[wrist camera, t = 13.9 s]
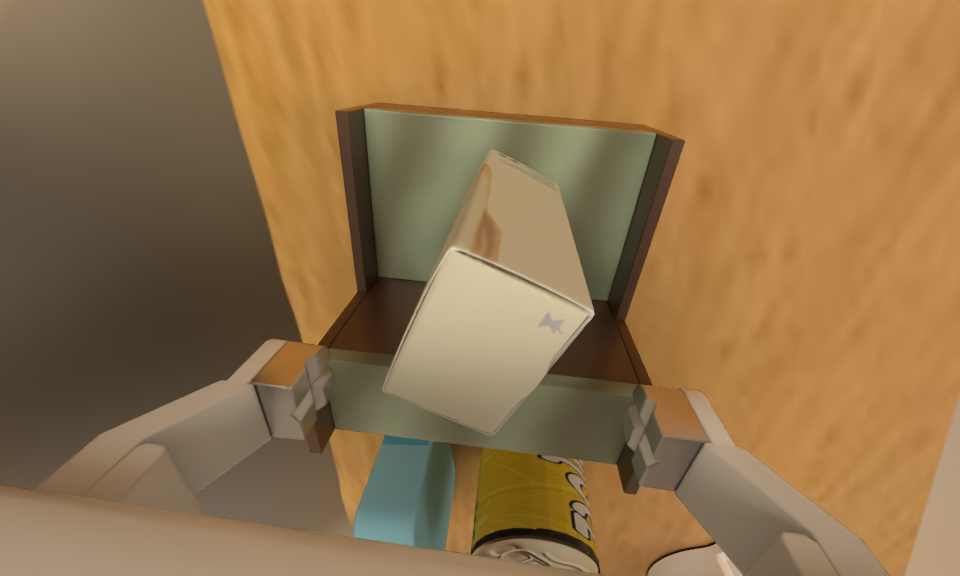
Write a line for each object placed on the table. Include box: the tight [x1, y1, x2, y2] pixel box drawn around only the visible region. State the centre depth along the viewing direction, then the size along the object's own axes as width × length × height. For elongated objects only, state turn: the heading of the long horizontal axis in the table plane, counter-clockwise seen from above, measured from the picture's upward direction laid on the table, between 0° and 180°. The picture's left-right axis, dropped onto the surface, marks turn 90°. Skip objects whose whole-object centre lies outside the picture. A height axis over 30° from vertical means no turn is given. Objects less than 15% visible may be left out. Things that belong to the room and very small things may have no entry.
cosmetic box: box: [382, 149, 595, 436], centre depth 16 cm, size 6×4×12 cm
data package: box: [353, 435, 455, 551], centre depth 33 cm, size 12×4×12 cm, turn 5°
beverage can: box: [471, 447, 600, 574], centre depth 30 cm, size 9×9×12 cm
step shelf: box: [307, 103, 685, 494], centre depth 20 cm, size 16×15×14 cm
